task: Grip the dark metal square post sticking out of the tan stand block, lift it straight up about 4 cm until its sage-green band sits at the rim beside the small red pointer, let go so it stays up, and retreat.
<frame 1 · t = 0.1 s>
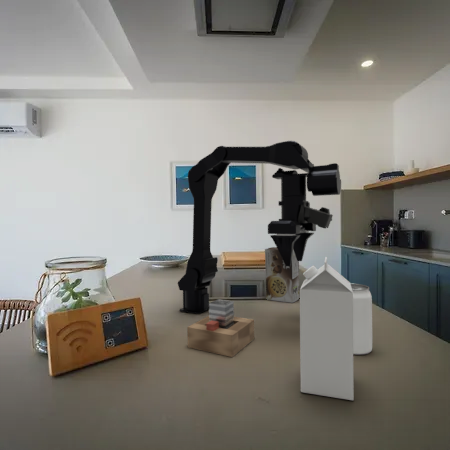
hand: (294, 263, 73), 15 cm above the table, tool pointing down, fingers open, 9 cm apart
tan stand block: (222, 342, 64), on the table
ratchet post: (221, 321, 64), point 4 cm above the table, slide at 0.0 cm
coffee box: (282, 299, 98), on the table
milk carton: (326, 386, 47), on the table
can: (353, 349, 60), on the table
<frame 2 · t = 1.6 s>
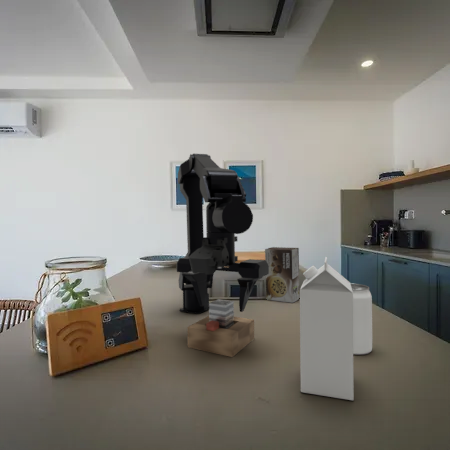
hand: (221, 308, 64), 7 cm above the table, tool pointing down, fingers open, 9 cm apart
nothing on the table moved.
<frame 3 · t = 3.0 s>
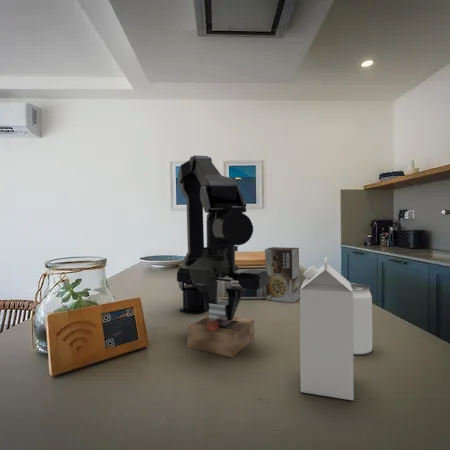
hand: (221, 318, 64), 5 cm above the table, tool pointing down, fingers closed on ratchet post, 4 cm apart
ratchet post: (221, 321, 64), point 4 cm above the table, slide at 0.0 cm, touching gripper
everything else where it was.
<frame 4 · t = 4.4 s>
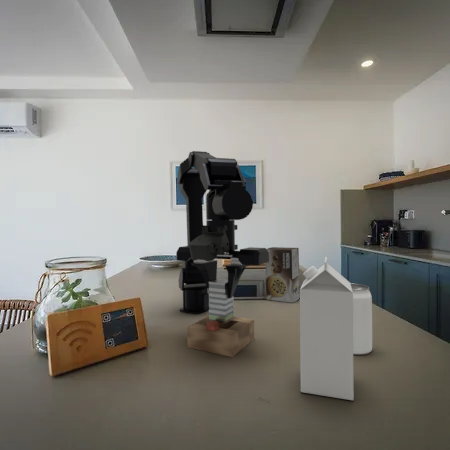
hand: (221, 296, 64), 9 cm above the table, tool pointing down, fingers closed on ratchet post, 4 cm apart
ratchet post: (221, 300, 64), point 9 cm above the table, slide at 4.4 cm, touching gripper
everything else where it was.
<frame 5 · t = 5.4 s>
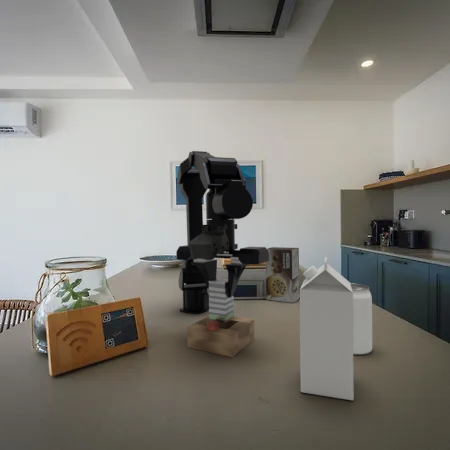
hand: (221, 296, 64), 10 cm above the table, tool pointing down, fingers open, 4 cm apart
ratchet post: (221, 299, 64), point 9 cm above the table, slide at 4.5 cm
everything else where it was.
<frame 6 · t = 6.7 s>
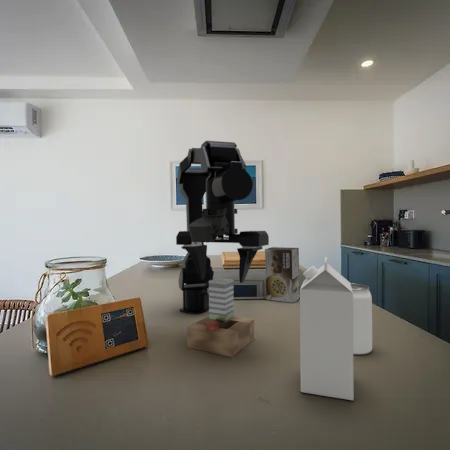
hand: (221, 280, 63), 13 cm above the table, tool pointing down, fingers open, 9 cm apart
nothing on the table moved.
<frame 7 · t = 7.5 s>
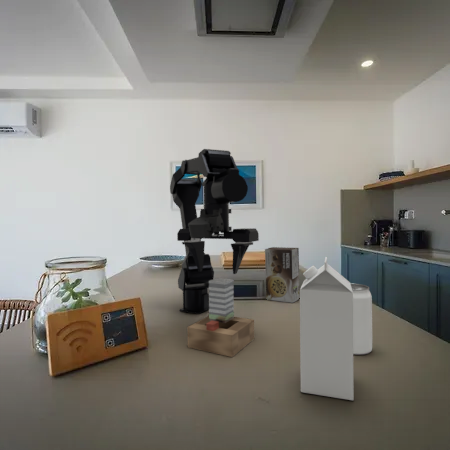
hand: (217, 272, 72), 13 cm above the table, tool pointing down, fingers open, 9 cm apart
nothing on the table moved.
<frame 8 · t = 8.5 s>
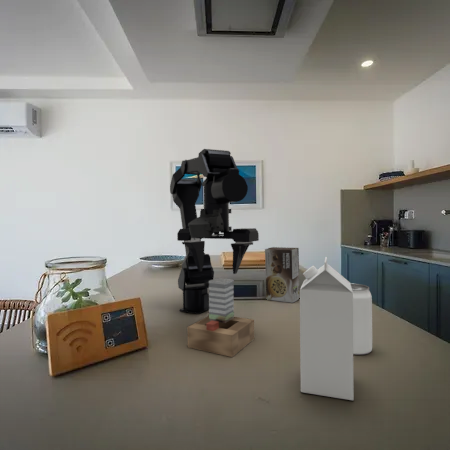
hand: (217, 272, 72), 13 cm above the table, tool pointing down, fingers open, 9 cm apart
nothing on the table moved.
at the end: ratchet post slide at 4.5 cm; the gripper is holding nothing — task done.
